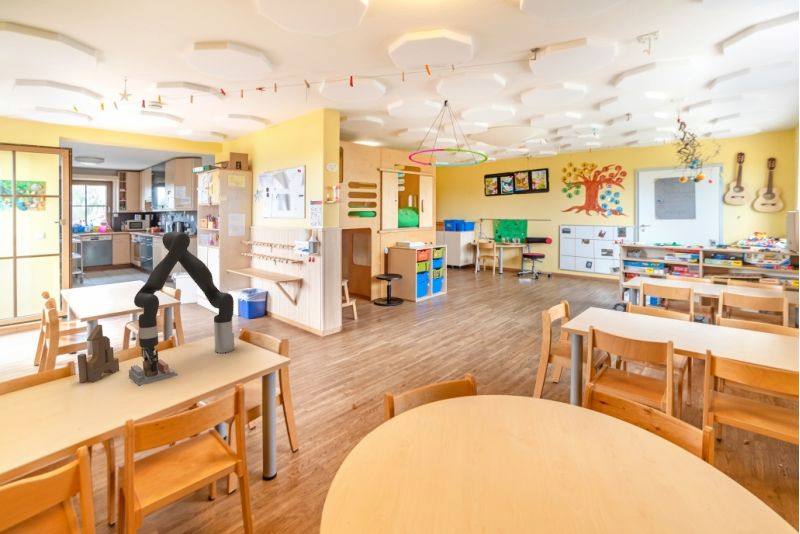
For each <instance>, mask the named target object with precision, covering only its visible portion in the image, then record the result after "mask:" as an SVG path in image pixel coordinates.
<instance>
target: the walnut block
mask: <svg viewBox="0 0 800 534" xmlns="http://www.w3.org/2000/svg"><path fill="white" fill-rule="evenodd" d="M154 361H155V360H154ZM156 365H157V371H154V372H151V364H150V360H146V361H144V360H142V369H143V370H144V371H145V376H146V377H151V376H155V375H158V363H156Z"/></svg>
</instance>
